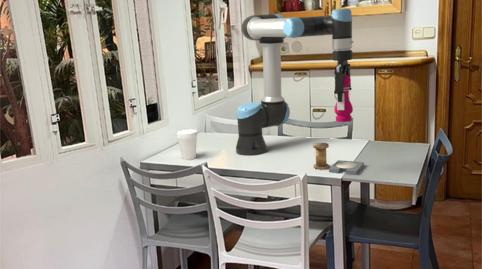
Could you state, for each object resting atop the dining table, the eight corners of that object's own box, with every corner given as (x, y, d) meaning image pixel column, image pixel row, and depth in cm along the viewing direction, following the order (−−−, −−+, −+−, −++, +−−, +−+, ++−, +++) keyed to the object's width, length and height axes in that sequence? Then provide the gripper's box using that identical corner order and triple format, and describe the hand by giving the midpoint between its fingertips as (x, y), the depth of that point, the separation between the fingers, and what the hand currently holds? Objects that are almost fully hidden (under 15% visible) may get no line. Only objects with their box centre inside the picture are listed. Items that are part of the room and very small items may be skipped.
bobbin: (311, 169, 193) (310, 145, 191) (316, 164, 199) (315, 142, 196) (326, 170, 190) (325, 146, 188) (331, 166, 196) (330, 143, 193)
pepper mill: (353, 118, 188) (353, 69, 184) (352, 122, 181) (351, 71, 177) (335, 118, 190) (334, 69, 186) (333, 122, 184) (332, 71, 179)
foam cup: (175, 160, 220) (173, 133, 217) (185, 155, 228) (182, 129, 226) (193, 161, 216) (191, 134, 214) (202, 155, 225) (200, 129, 222)
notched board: (328, 172, 187) (328, 168, 187) (338, 163, 198) (338, 159, 198) (355, 174, 182) (355, 170, 182) (363, 165, 193) (363, 161, 193)
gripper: (344, 51, 169) (346, 112, 174) (358, 47, 186) (359, 104, 191) (325, 52, 173) (326, 112, 178) (340, 48, 190) (341, 104, 195)
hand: (343, 108), depth 185 cm, fingers closed on pepper mill, 7 cm apart
